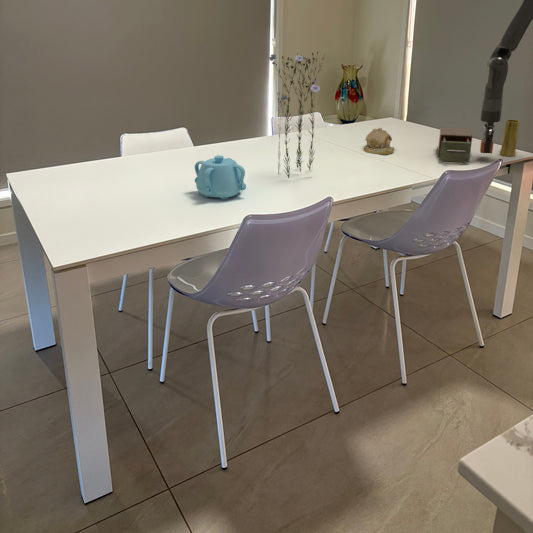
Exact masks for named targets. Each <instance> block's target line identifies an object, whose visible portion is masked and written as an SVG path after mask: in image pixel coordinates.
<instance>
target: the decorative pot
mask: <svg viewBox="0 0 533 533" xmlns="http://www.w3.org/2000/svg"><path fill="white" fill-rule="evenodd" d="M199 165H200V166H199ZM194 171H195V174H196V176H195V178H194V183H195V186H196V190H197V192H199V193H200V194H201V195H203V196H204V198H220V200H223V199H225V200H229V198H231V197H234V196H236V195H238V194H239V193H241V191H245V190H246V189H247V184H246V183H245V181H244V180H245V176H246V170H245V168H244V166H243V165H240V164H238V163H237V161H236V160H234V159H233V158H231V157H226V158H225V157H224V155H218V154H217V155H215V156H214V157H212V158H209V159H207V160H205V161H204V160H199V161H196V163H195V164H194Z"/></svg>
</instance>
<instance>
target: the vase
mask: <svg viewBox="0 0 533 533" xmlns="http://www.w3.org/2000/svg"><path fill="white" fill-rule="evenodd" d="M520 123H521V121H520V120H519V119H513V118H511V119H510V118H509V119H506V121H505V127H504V132H503V137H502V143H501V147H500V152H499V155H500V156H504V157H515V156H516V150H517V143H518V136H519V131H520V130H519V129H520Z"/></svg>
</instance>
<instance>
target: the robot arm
mask: <svg viewBox="0 0 533 533" xmlns="http://www.w3.org/2000/svg"><path fill="white" fill-rule="evenodd" d="M532 21H533V0H522V3H521V5H520V6H519V8H518V9H517V11H516V13H515V14H514V15H513V17H512V18H511V20H510V21H509V23H508V25H507V26H506V28H505V30H504V32H503V34H502V36H501V38H500V40H499V43H498V44H497V46H496V47H495V49H494V50H493V52H492V53H491V55H490V57H489V58H488V60H487V63H486V68H487V70H488V75H487V76H488V77H487V82H486V83H485V86H484V94H483V100H482V105H481V111H480V112H481V113H480V121H481V122H483V123H484V125H483V132H482V134H483V136H482V137H483V140H485V142H484V143H485V146H484V153H483V154H490V153H489V152H490V145H491V143H492V140H493V138H494V134H495V130H496V126H495V124H494V123H499V122H501V118H502V113H503V112H502V111H503V104H504V100H503V99H504V92H505V84H506V81H507V78H508V74H509V66H510V64H509V61H510V58H511V57H512V55H513V53H514V52H516V51H517V49H518V48H519V46H520V44H521V42H522V40H523V39H524V36H525V35H526V33H527V30H528V29H529V27H530V25H531V23H532Z"/></svg>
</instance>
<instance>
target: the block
mask: <svg viewBox="0 0 533 533" xmlns="http://www.w3.org/2000/svg"><path fill="white" fill-rule="evenodd" d="M484 142H485V140H484V139H481V141H480V147H479V152H480V154H485V153H484V146H485V143H484ZM493 150H494V140H493V139H492V143H491V145H490V152H489V153H488V154H493Z"/></svg>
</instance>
